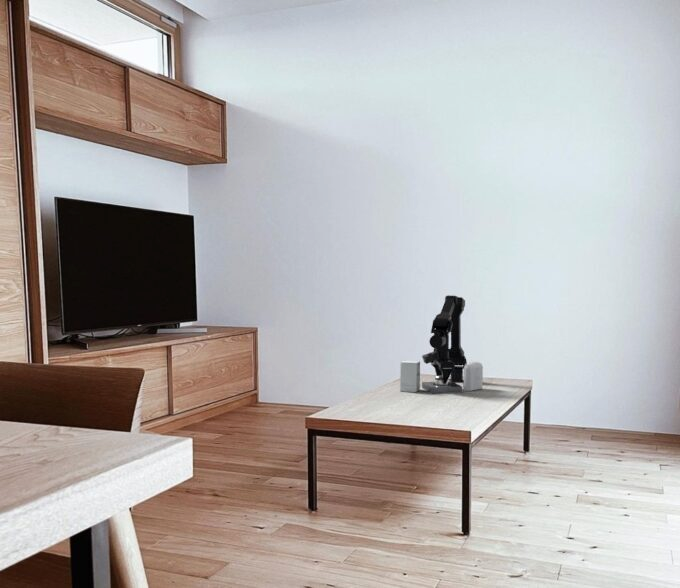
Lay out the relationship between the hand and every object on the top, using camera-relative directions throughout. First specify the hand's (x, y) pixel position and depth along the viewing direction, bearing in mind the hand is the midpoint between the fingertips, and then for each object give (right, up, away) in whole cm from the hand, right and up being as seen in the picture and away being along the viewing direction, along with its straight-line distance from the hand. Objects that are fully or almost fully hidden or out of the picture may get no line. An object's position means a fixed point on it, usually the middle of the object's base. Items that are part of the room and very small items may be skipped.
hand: (441, 382), depth 296 cm
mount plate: (0, -4, 0) cm, 4 cm away
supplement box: (-14, -4, -2) cm, 14 cm away
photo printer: (+14, -4, +2) cm, 15 cm away
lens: (0, -4, 0) cm, 4 cm away
